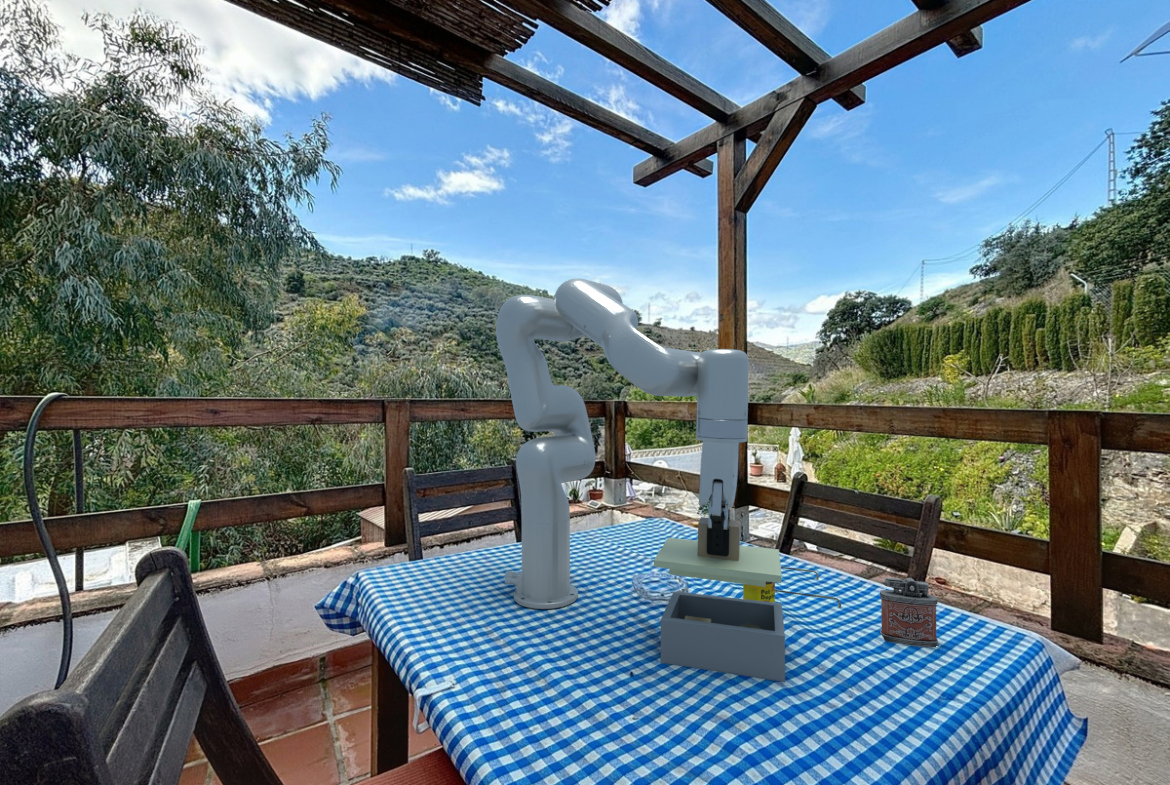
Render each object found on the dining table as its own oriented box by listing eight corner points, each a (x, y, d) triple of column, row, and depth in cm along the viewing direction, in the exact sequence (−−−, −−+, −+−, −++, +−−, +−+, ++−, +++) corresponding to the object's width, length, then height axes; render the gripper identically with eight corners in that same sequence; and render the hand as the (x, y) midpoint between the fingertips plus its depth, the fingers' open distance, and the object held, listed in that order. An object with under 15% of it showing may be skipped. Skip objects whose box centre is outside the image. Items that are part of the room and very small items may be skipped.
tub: (660, 667, 77) (660, 619, 77) (673, 633, 89) (673, 591, 89) (785, 687, 72) (784, 636, 72) (782, 648, 83) (781, 603, 83)
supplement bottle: (761, 622, 93) (761, 563, 93) (736, 611, 98) (736, 556, 98) (781, 615, 96) (781, 558, 96) (756, 605, 101) (756, 551, 101)
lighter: (934, 640, 86) (933, 578, 86) (940, 649, 83) (940, 585, 83) (878, 633, 89) (878, 573, 89) (882, 641, 85) (882, 579, 86)
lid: (653, 577, 78) (654, 526, 78) (668, 552, 90) (668, 508, 90) (781, 594, 72) (782, 539, 72) (778, 565, 84) (779, 518, 84)
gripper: (702, 426, 90) (699, 533, 90) (689, 433, 74) (686, 564, 74) (748, 428, 88) (746, 538, 88) (745, 436, 72) (742, 571, 72)
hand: (718, 549), depth 81 cm, fingers closed on lid, 4 cm apart
